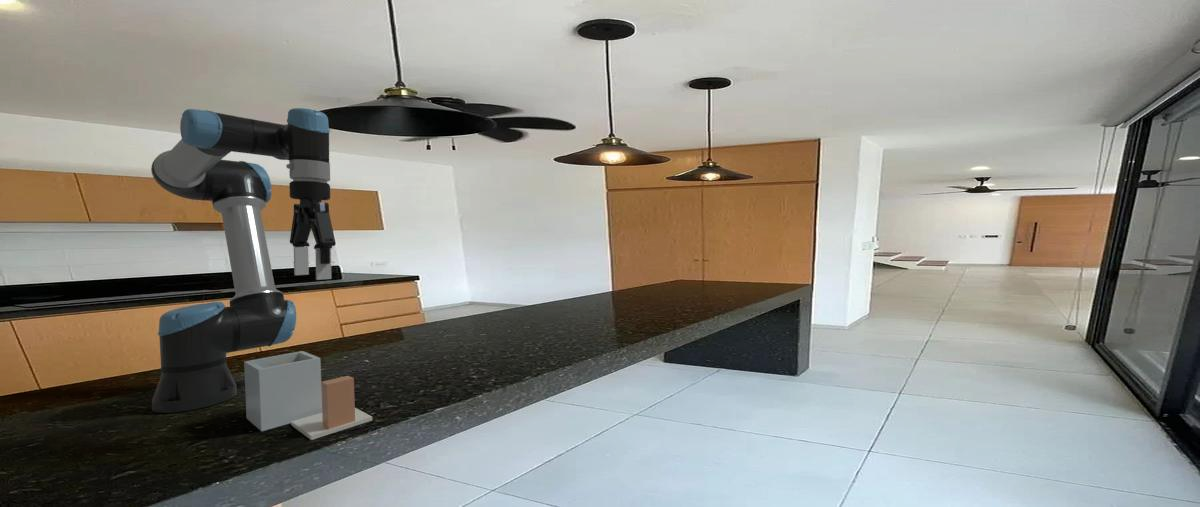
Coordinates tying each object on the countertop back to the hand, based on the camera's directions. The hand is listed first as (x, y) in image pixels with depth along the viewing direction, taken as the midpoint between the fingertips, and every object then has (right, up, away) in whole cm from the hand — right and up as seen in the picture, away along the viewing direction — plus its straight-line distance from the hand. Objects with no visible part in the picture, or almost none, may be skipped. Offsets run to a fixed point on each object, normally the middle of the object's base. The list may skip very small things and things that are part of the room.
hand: (312, 277), depth 98 cm
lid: (+8, -31, -6) cm, 32 cm away
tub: (-5, -31, -2) cm, 31 cm away
